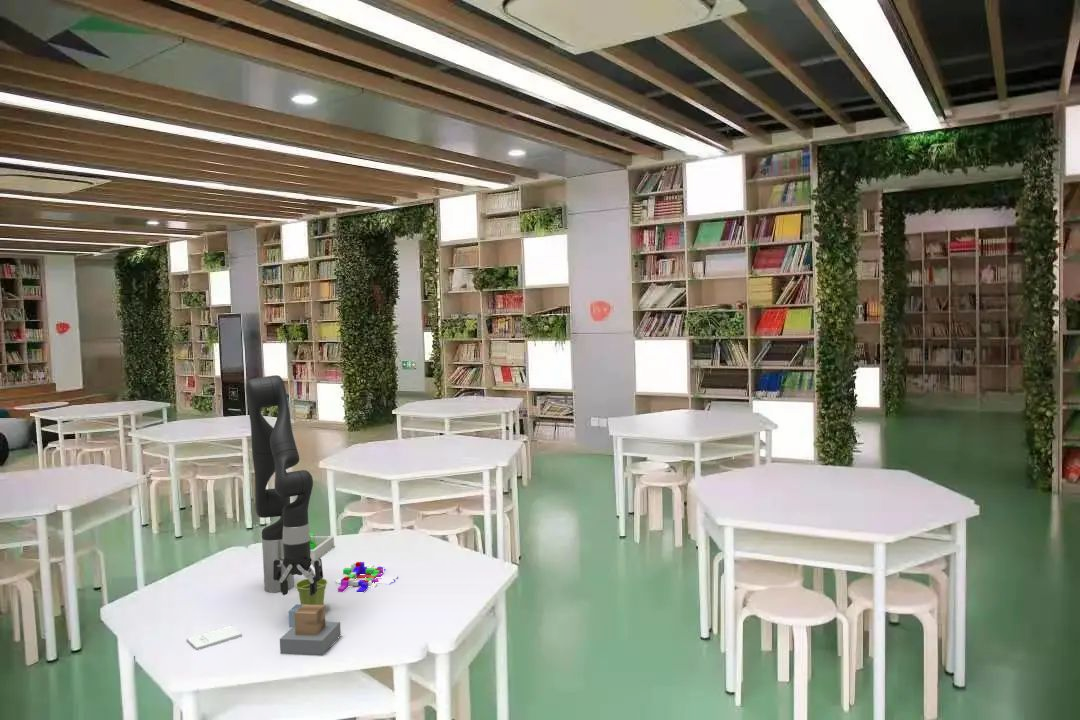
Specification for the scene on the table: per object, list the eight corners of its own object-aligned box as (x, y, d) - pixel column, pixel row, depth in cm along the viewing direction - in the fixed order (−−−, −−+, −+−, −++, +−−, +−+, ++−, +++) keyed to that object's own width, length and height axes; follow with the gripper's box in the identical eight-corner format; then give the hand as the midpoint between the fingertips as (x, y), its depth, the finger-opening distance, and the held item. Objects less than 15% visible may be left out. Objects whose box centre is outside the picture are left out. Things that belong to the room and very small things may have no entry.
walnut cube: (305, 625, 215) (304, 604, 214) (325, 626, 214) (324, 605, 213) (295, 634, 209) (294, 613, 208) (316, 635, 208) (315, 613, 207)
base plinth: (300, 634, 218) (299, 620, 218) (340, 636, 217) (340, 622, 216) (280, 653, 206) (279, 638, 206) (322, 655, 205) (322, 640, 204)
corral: (291, 545, 302) (291, 535, 302) (334, 546, 299) (333, 536, 299) (270, 560, 285) (269, 549, 284) (314, 561, 282) (314, 550, 282)
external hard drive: (242, 638, 218) (196, 652, 210) (231, 630, 224) (186, 643, 216) (241, 633, 218) (196, 646, 210) (231, 624, 224) (186, 637, 216)
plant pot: (330, 603, 241) (328, 576, 240) (327, 615, 232) (325, 587, 231) (299, 606, 240) (297, 579, 239) (294, 618, 230) (293, 589, 230)
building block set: (385, 594, 249) (384, 581, 249) (324, 593, 251) (323, 580, 251) (407, 568, 274) (407, 556, 273) (352, 567, 276) (351, 555, 276)
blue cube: (297, 620, 228) (296, 604, 228) (313, 621, 228) (312, 604, 227) (289, 627, 224) (288, 610, 223) (305, 628, 223) (304, 611, 222)
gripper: (325, 536, 226) (327, 590, 227) (279, 535, 229) (282, 589, 229) (314, 543, 219) (316, 599, 220) (267, 543, 221) (269, 598, 222)
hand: (299, 594), depth 225 cm, fingers open, 8 cm apart
